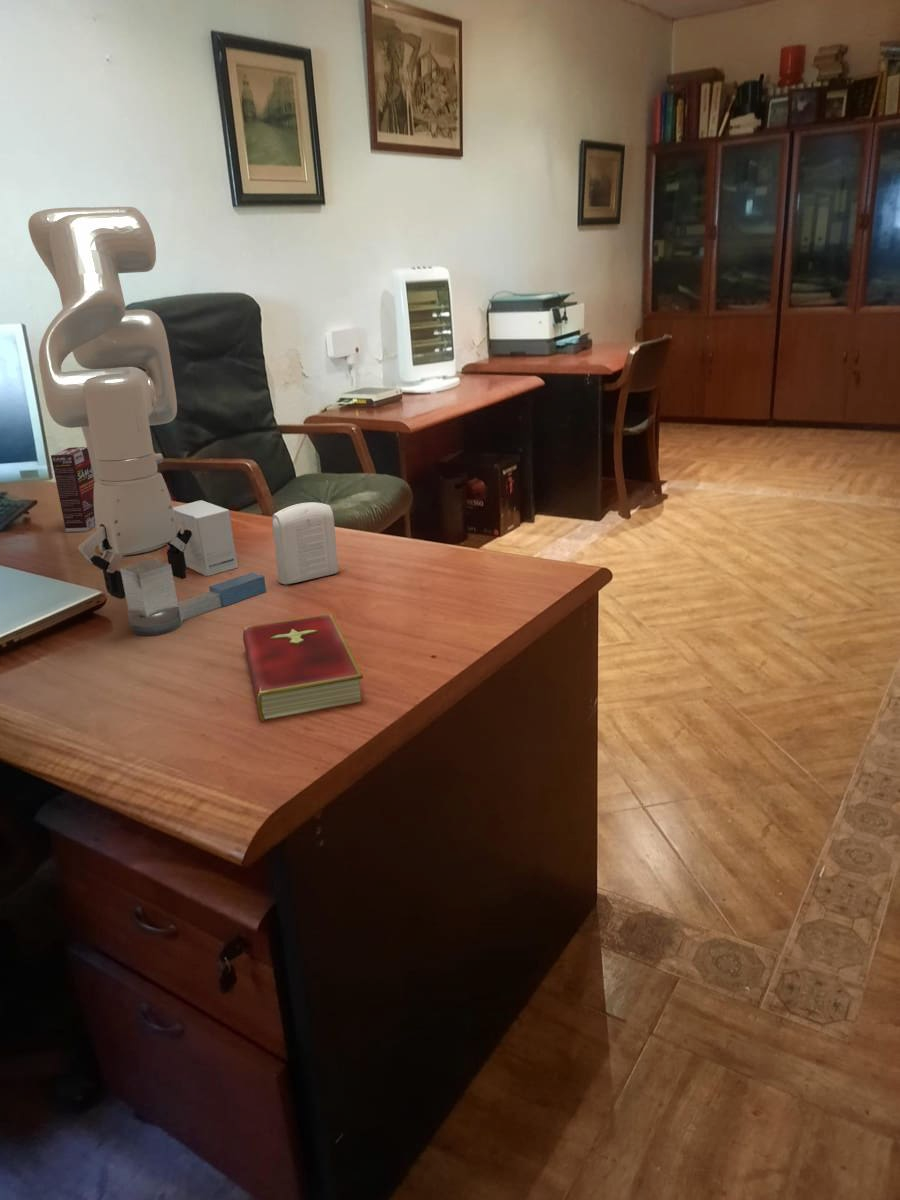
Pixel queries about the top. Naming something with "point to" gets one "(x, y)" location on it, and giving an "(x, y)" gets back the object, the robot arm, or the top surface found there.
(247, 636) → the hardcover book
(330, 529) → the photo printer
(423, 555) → the top surface
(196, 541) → the skincare box
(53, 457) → the supplement box
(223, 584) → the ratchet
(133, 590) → the white cube
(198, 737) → the top surface
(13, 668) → the top surface
